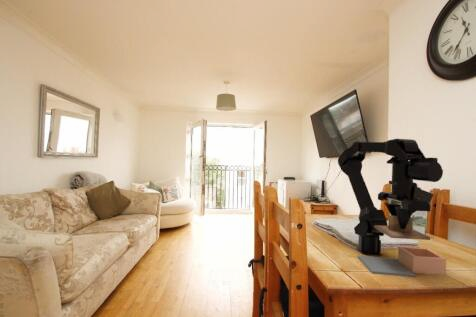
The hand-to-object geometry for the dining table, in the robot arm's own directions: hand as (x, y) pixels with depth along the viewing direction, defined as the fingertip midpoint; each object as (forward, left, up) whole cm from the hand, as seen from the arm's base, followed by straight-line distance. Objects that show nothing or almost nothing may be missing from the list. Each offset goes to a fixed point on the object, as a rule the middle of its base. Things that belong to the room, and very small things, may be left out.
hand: (400, 227), depth 80 cm
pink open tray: (+7, +1, -13) cm, 14 cm away
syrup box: (+25, +37, -13) cm, 46 cm away
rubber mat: (-5, -1, -12) cm, 13 cm away
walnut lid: (0, 0, -2) cm, 2 cm away
